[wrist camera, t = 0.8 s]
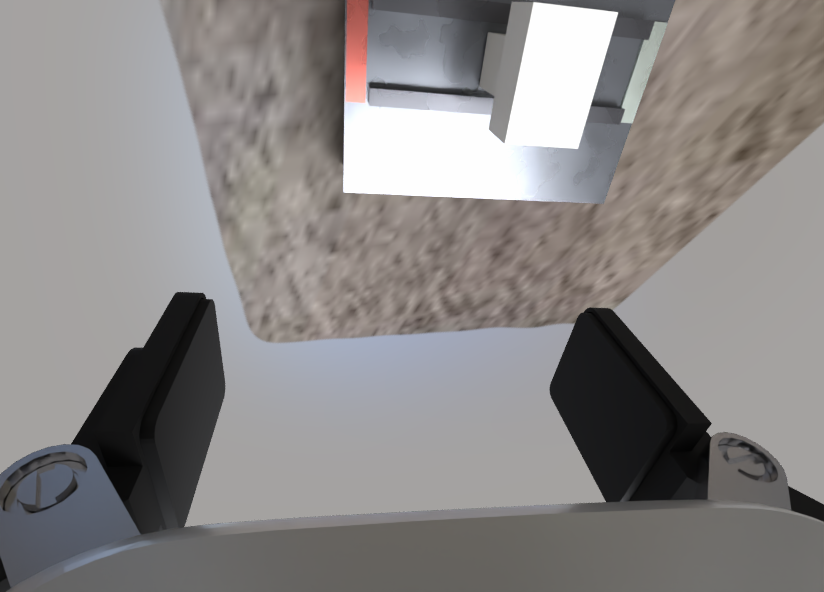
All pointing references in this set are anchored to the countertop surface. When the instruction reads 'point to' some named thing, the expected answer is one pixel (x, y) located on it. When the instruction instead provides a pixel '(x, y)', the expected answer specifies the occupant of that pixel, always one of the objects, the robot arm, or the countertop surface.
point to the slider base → (476, 102)
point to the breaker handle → (545, 72)
